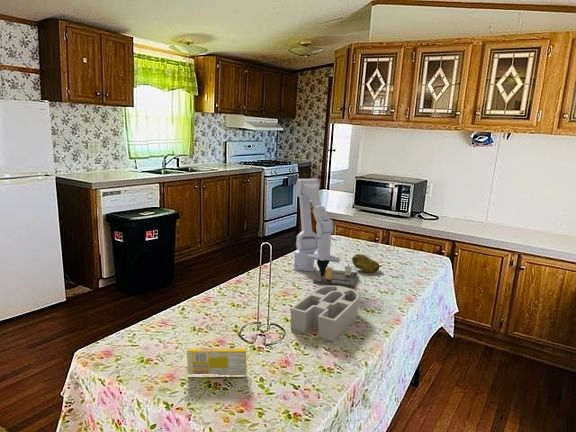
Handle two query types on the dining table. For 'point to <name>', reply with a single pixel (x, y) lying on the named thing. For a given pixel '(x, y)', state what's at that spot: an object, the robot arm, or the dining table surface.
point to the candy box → (217, 361)
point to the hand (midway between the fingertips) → (322, 275)
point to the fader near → (329, 273)
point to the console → (337, 279)
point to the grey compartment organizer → (326, 312)
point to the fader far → (348, 269)
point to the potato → (365, 263)
